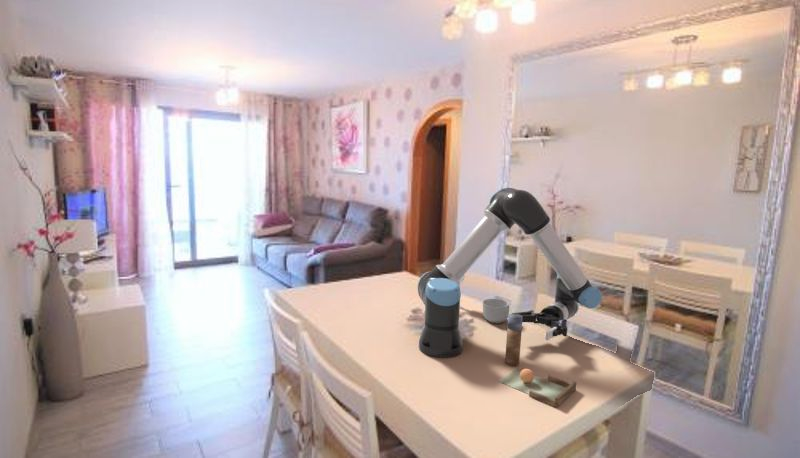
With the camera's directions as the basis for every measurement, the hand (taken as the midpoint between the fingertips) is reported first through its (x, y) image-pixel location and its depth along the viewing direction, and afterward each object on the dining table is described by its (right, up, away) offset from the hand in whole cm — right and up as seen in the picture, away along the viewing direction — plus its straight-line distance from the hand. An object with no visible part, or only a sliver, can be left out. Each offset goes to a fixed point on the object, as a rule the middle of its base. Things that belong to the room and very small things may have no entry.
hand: (527, 330), depth 140 cm
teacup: (-3, -4, +34) cm, 34 cm away
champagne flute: (-18, -1, +49) cm, 52 cm away
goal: (-3, -12, -19) cm, 23 cm away
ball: (-6, -9, -17) cm, 20 cm away
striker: (-7, -9, -5) cm, 13 cm away
